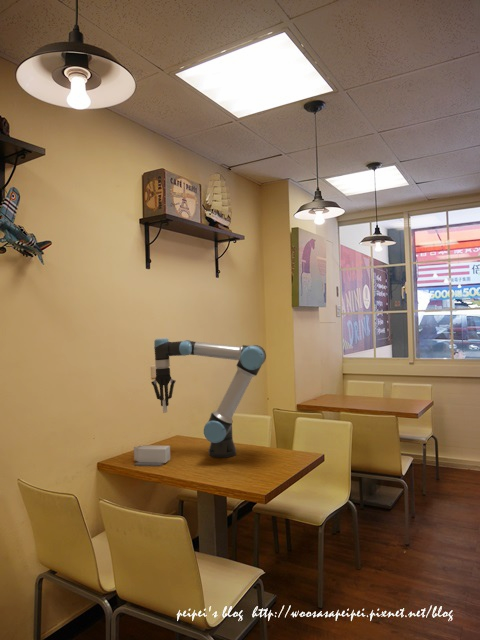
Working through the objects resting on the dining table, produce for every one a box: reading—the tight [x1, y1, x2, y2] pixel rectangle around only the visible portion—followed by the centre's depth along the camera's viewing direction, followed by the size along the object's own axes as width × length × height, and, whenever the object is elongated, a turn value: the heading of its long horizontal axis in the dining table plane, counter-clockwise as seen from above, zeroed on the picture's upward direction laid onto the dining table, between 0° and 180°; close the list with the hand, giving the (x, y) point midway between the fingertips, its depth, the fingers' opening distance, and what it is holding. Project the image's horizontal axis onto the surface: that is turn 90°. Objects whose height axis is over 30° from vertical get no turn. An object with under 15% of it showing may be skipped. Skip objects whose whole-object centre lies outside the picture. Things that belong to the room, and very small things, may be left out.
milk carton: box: [133, 444, 171, 464], centre depth 242 cm, size 7×7×19 cm
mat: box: [134, 461, 165, 467], centre depth 241 cm, size 14×12×1 cm
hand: (165, 412), depth 244 cm, fingers closed
